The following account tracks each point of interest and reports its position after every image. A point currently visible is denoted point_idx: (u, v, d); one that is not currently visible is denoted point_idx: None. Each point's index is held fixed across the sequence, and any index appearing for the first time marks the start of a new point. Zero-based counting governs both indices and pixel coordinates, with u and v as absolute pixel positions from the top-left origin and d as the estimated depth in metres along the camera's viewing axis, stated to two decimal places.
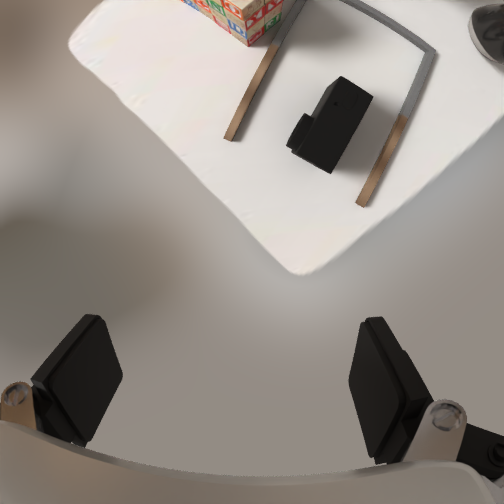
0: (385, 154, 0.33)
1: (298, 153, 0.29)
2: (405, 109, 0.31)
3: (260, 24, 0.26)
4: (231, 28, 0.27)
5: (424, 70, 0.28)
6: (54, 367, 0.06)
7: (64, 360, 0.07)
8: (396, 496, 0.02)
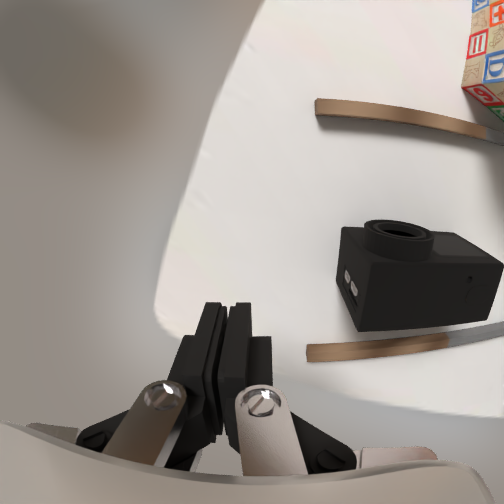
0: (393, 349, 0.22)
1: (374, 265, 0.14)
2: (456, 339, 0.22)
3: None
4: (485, 57, 0.12)
5: (502, 331, 0.21)
6: (205, 357, 0.07)
7: (211, 349, 0.08)
8: (396, 496, 0.02)
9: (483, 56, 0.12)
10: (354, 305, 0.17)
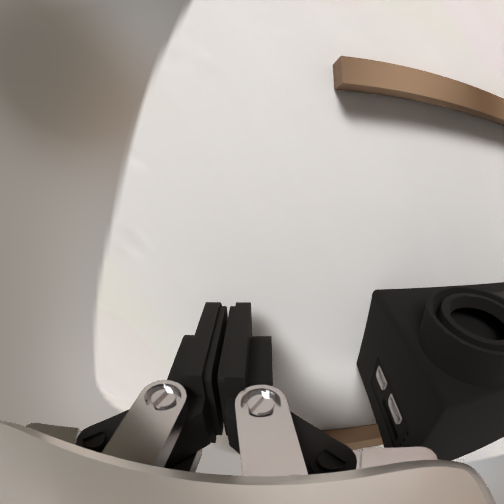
0: None
1: (449, 409, 0.05)
2: None
3: None
4: None
5: None
6: (205, 357, 0.07)
7: (211, 349, 0.08)
8: (396, 496, 0.02)
9: None
10: (392, 433, 0.08)
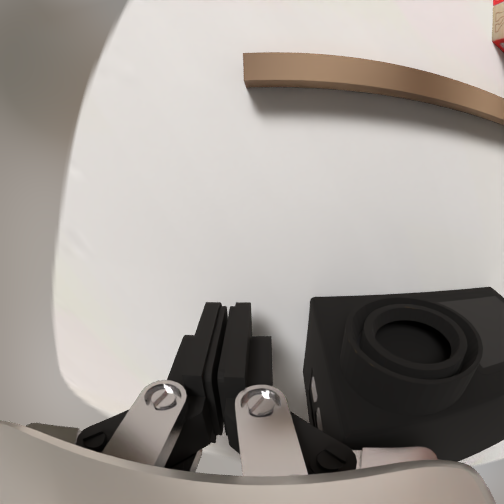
0: None
1: (351, 437, 0.05)
2: None
3: None
4: None
5: None
6: (205, 358, 0.07)
7: (211, 349, 0.08)
8: (396, 496, 0.02)
9: None
10: None
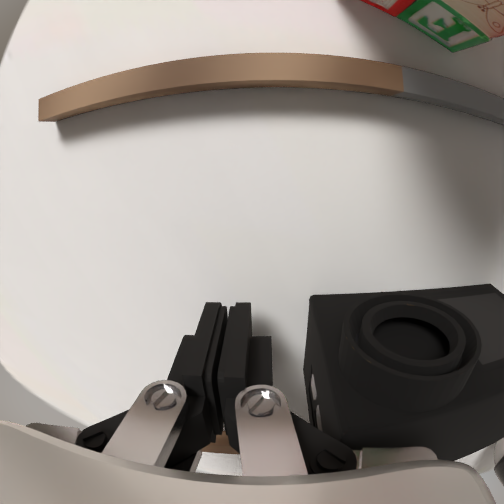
0: None
1: (349, 433, 0.06)
2: None
3: None
4: None
5: None
6: (205, 357, 0.07)
7: (211, 349, 0.08)
8: (396, 496, 0.02)
9: None
10: None
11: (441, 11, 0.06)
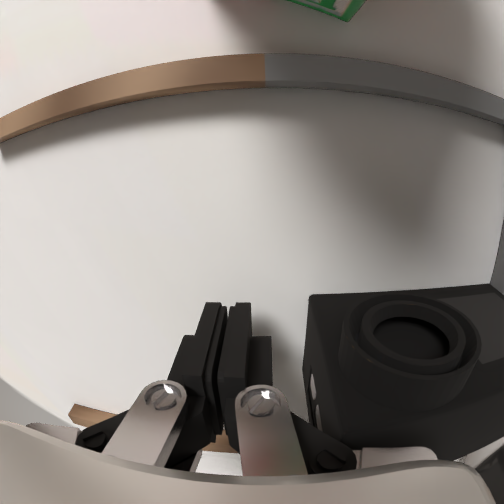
0: None
1: (349, 433, 0.06)
2: None
3: None
4: None
5: None
6: (205, 358, 0.07)
7: (211, 349, 0.08)
8: (396, 496, 0.02)
9: None
10: None
11: None
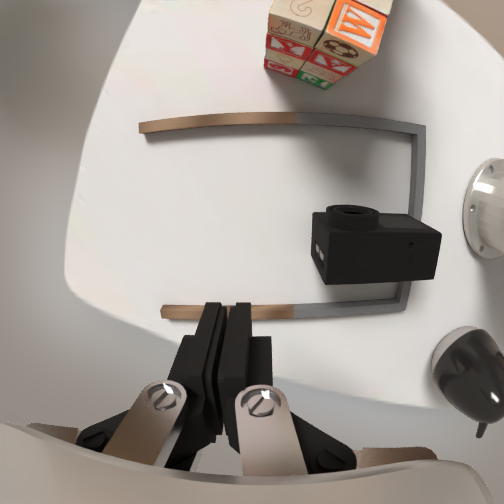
0: None
1: (331, 234, 0.21)
2: (302, 310, 0.29)
3: (292, 62, 0.18)
4: None
5: (369, 309, 0.29)
6: (205, 357, 0.07)
7: (211, 349, 0.08)
8: (396, 496, 0.02)
9: None
10: (322, 267, 0.24)
11: (309, 75, 0.21)
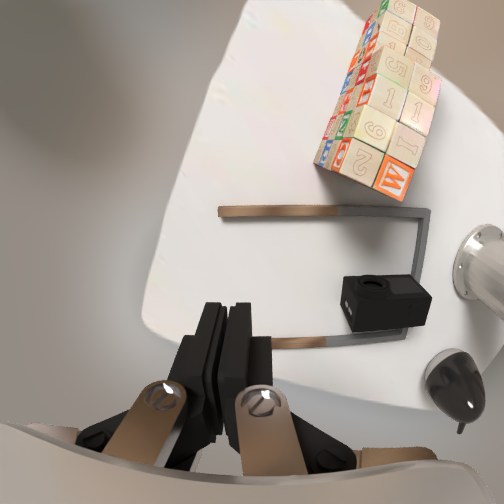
0: (282, 344, 0.40)
1: (359, 302, 0.31)
2: (332, 341, 0.39)
3: None
4: (326, 142, 0.29)
5: (379, 339, 0.39)
6: (205, 357, 0.07)
7: (211, 349, 0.08)
8: (396, 496, 0.02)
9: (326, 141, 0.29)
10: (350, 319, 0.34)
11: None
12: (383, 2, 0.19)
